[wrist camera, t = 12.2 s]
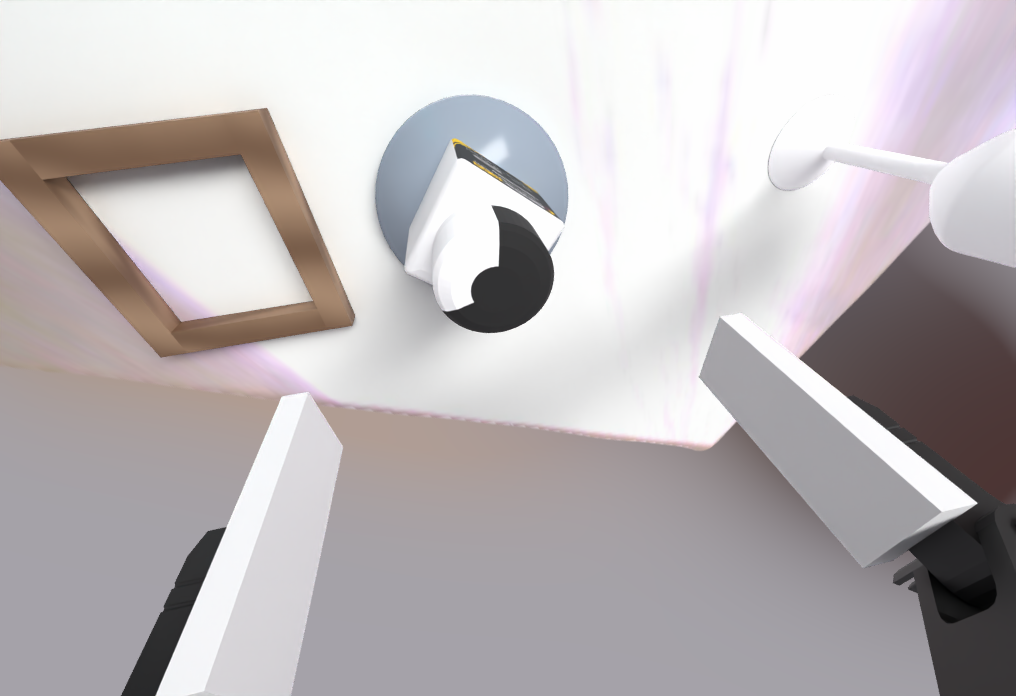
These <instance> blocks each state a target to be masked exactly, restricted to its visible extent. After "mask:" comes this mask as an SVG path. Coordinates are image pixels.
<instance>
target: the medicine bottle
mask: <svg viewBox="0 0 1016 696" xmlns="http://www.w3.org/2000/svg"><path fill="white" fill-rule="evenodd" d="M563 229H564V223H563V222H562V221H561V220H560V218H559V217H558V216H557V215H556V214H555V213H554V211H553V210H552V209H551V208H550V207H549V205H548V204H547V203H546V202H545V201H544V199H543V198H542V197H541V196H540V195H539V193H538V192H537V191H535V190H534V189H532V188H531V187H529V186H528V185H526V184H525V183H523V182H522V181H520V180H519V179H517V178H516V177H514V176H513V175H511V174H510V173H508V172H507V171H505V170H504V169H502V168H501V167H499V166H498V165H496V164H494V163H493V162H491V161H490V160H488V159H487V158H485V157H484V156H482V155H481V154H479V153H478V152H476V151H475V150H473V149H472V148H470V147H469V146H467V145H466V144H464V143H463V142H461V141H460V140H458V139H455V138H454V139H451V140H450V142H449V144H448V146H447V148H446V150H445V152H444V155H443V157H442V159H441V161H440V163H439V165H438V167H437V170H436V172H435V174H434V176H433V178H432V180H431V182H430V185H429V187H428V189H427V191H426V193H425V195H424V197H423V200H422V202H421V204H420V206H419V208H418V210H417V212H416V215H415V217H414V219H413V221H412V223H411V225H410V227H409V234H408V242H407V250H406V258H405V266H404V269H405V272H406V273H407V274H409V275H411V276H413V277H415V278H418V279H420V280H422V281H424V282H427V283H429V284H431V285H433V291H434V295H435V298H436V300H437V303H438V305H439V306H440V308H441V309H442V311H443V312H444V313H445V314H446V315H447V317H449V318H450V319H451V320H452V321H453V322H455V323H456V324H458V325H460V326H462V327H464V328H466V329H469V330H472V331H476V332H482V333H497V332H503V331H507V330H511V329H513V328H516V327H518V326H520V325H522V324H524V323H526V322H527V321H528V320H530V319H531V318H532V317H534V316H535V315H536V314H537V313H538V312H539V311H540V309H541V308H542V307H543V306H544V304H545V303H546V301H547V299H548V297H549V295H550V292H551V290H552V286H553V281H554V268H553V263H552V259H551V256H550V254H549V250H550V248H551V247H552V245H553V244H554V243H555V241H556V240H557V238H558V237H559V235H560V234H561V232H562V231H563Z"/></svg>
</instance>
